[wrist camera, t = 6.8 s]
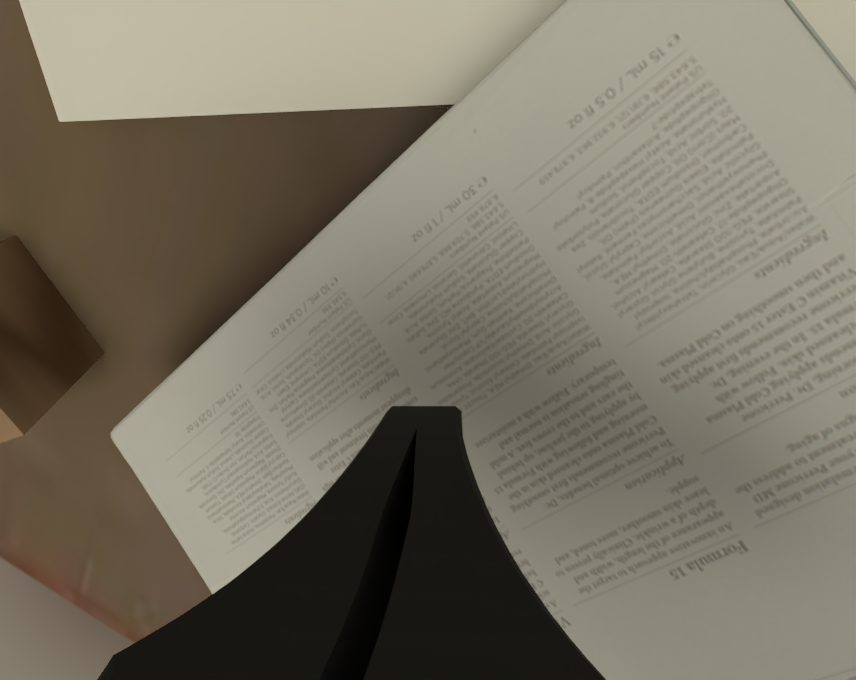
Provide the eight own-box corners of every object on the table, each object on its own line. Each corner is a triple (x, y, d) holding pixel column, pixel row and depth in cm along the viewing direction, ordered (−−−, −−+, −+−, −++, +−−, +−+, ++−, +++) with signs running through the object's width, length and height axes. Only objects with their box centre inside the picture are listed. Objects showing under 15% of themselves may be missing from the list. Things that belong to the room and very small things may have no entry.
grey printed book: (222, 389, 26) (444, 757, 24) (100, 429, 21) (367, 893, 19) (719, -35, 16) (1147, 525, 14) (704, -142, 11) (1345, 679, 10)
